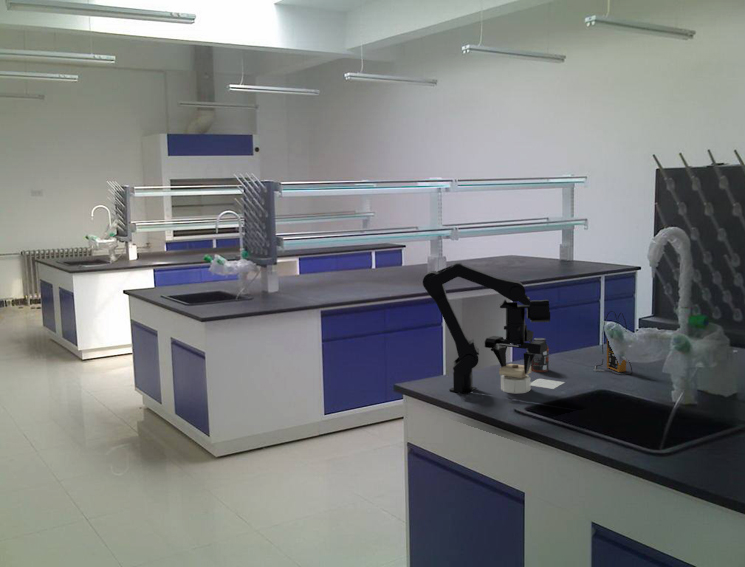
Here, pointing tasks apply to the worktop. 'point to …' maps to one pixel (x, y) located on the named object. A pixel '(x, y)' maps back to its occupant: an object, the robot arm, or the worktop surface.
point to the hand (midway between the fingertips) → (515, 372)
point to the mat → (546, 383)
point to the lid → (513, 370)
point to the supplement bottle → (540, 359)
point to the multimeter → (613, 357)
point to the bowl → (515, 384)
